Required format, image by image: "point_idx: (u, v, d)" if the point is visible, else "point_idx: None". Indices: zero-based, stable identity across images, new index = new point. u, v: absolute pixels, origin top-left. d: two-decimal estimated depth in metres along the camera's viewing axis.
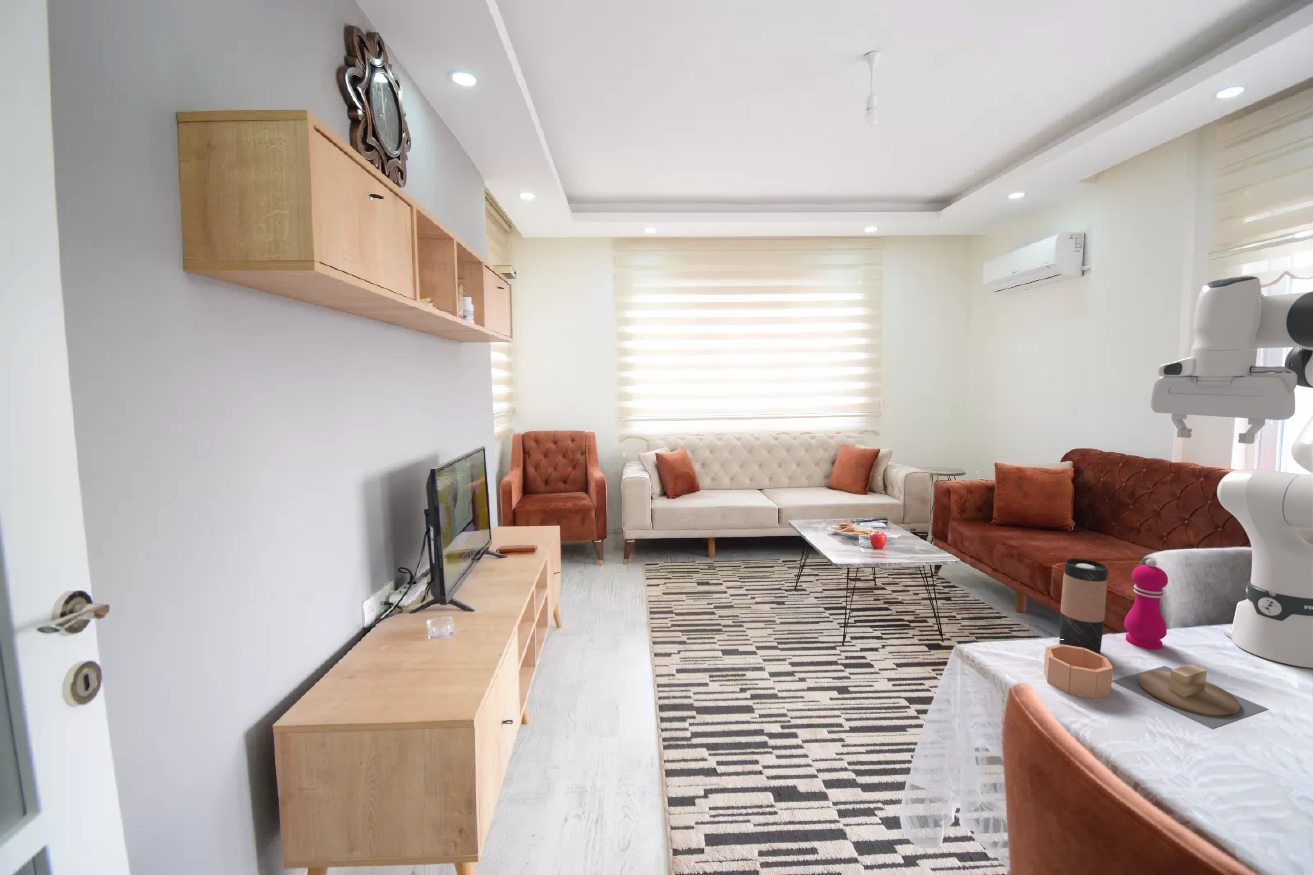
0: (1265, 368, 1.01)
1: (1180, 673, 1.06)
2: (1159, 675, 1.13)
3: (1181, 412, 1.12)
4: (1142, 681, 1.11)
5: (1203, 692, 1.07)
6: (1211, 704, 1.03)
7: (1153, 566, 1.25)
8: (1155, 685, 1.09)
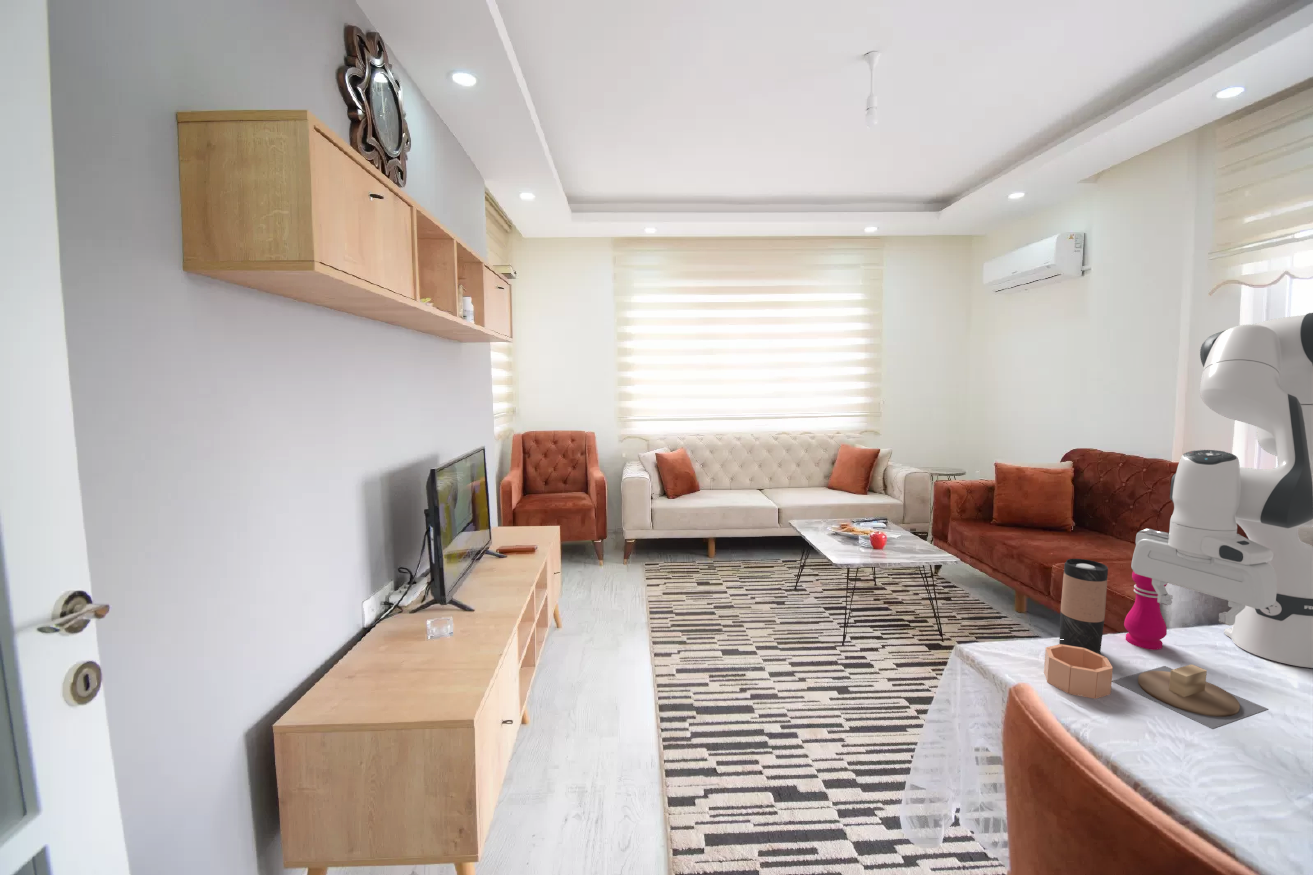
0: None
1: (1180, 673, 1.06)
2: (1159, 675, 1.13)
3: None
4: (1142, 681, 1.11)
5: (1203, 692, 1.07)
6: (1211, 704, 1.03)
7: None
8: (1155, 685, 1.09)
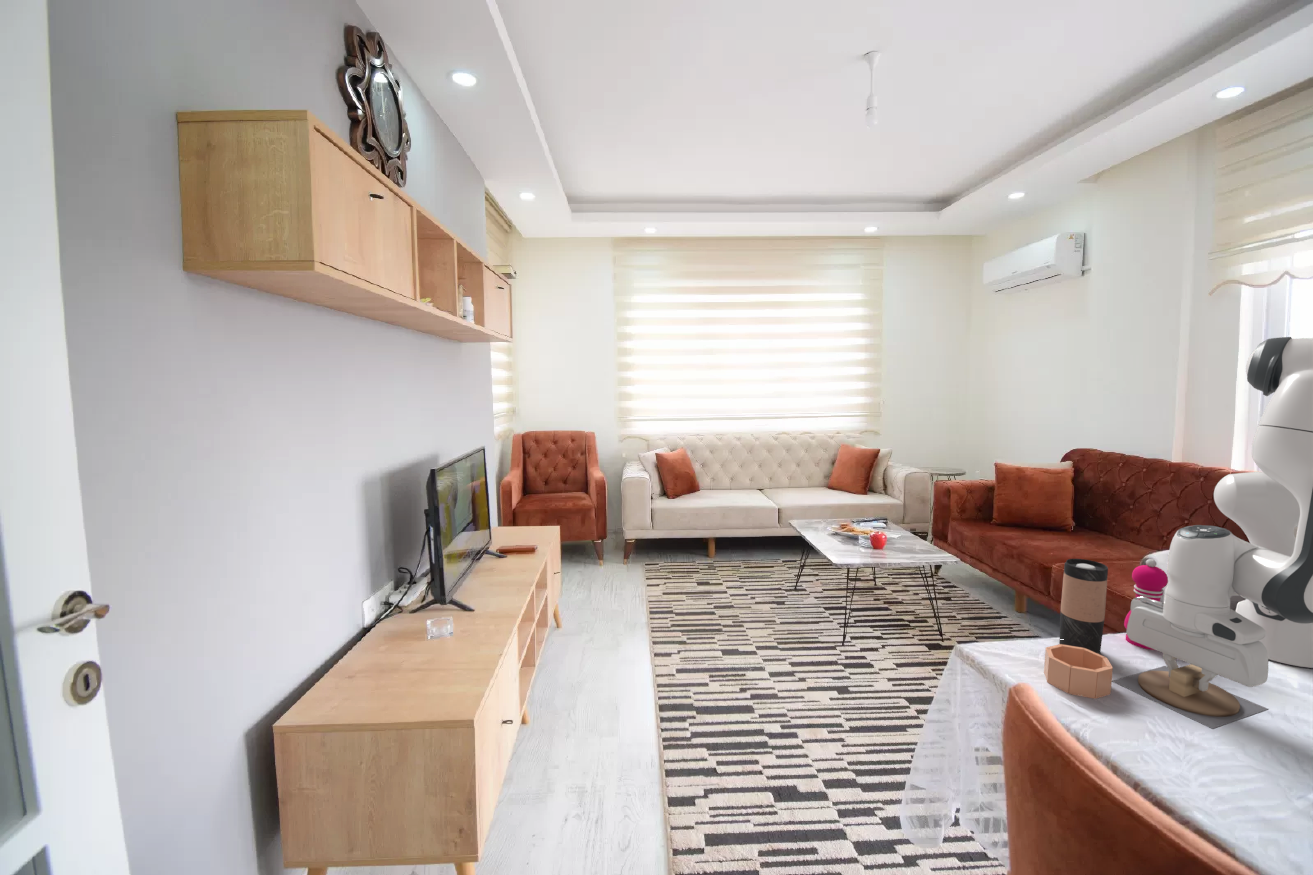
0: None
1: (1180, 673, 1.06)
2: (1159, 675, 1.13)
3: None
4: (1142, 681, 1.11)
5: (1203, 692, 1.07)
6: (1211, 704, 1.03)
7: (1153, 566, 1.25)
8: (1155, 685, 1.09)
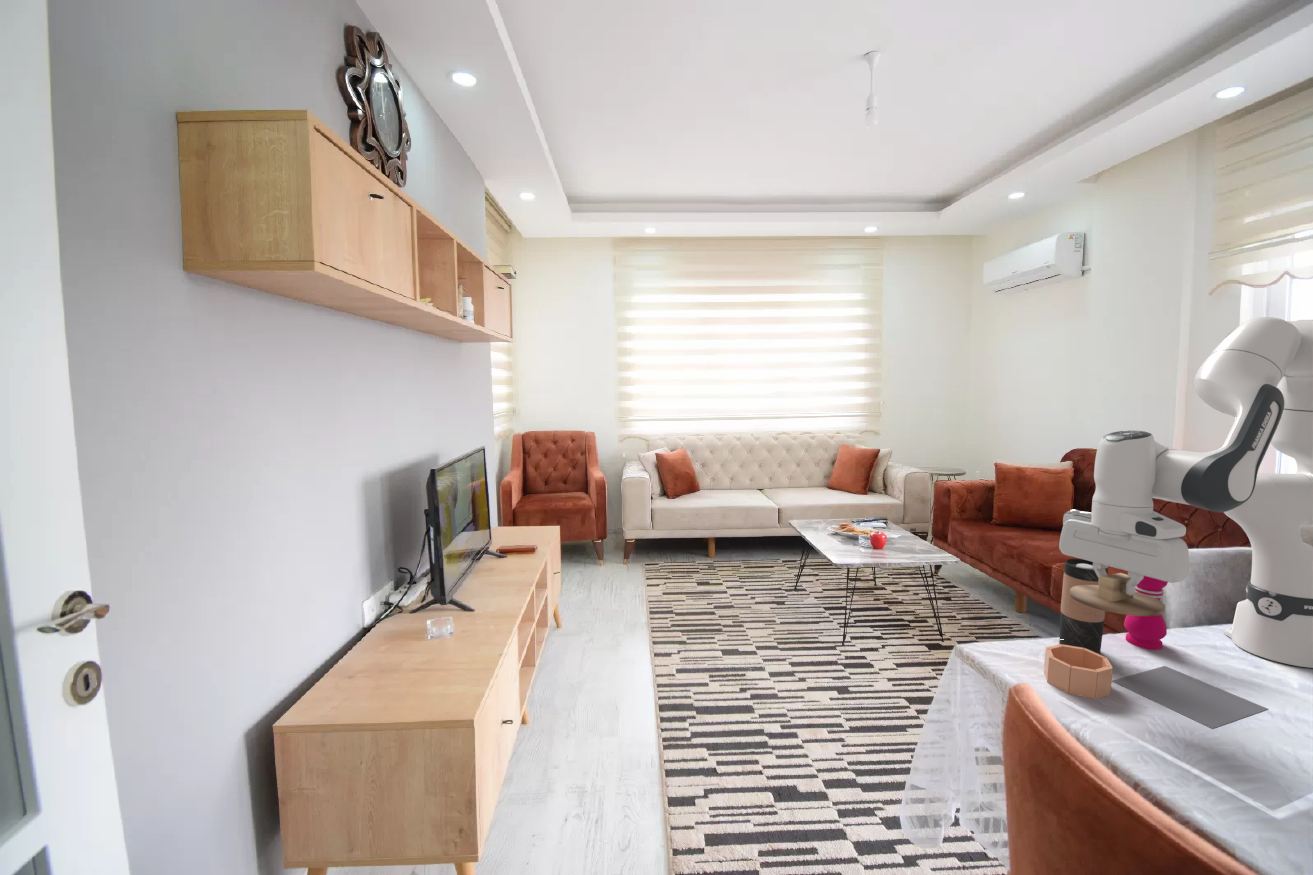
0: None
1: (1108, 578, 1.07)
2: (1091, 587, 1.13)
3: None
4: (1073, 592, 1.11)
5: (1131, 598, 1.07)
6: (1137, 606, 1.03)
7: None
8: (1085, 594, 1.10)
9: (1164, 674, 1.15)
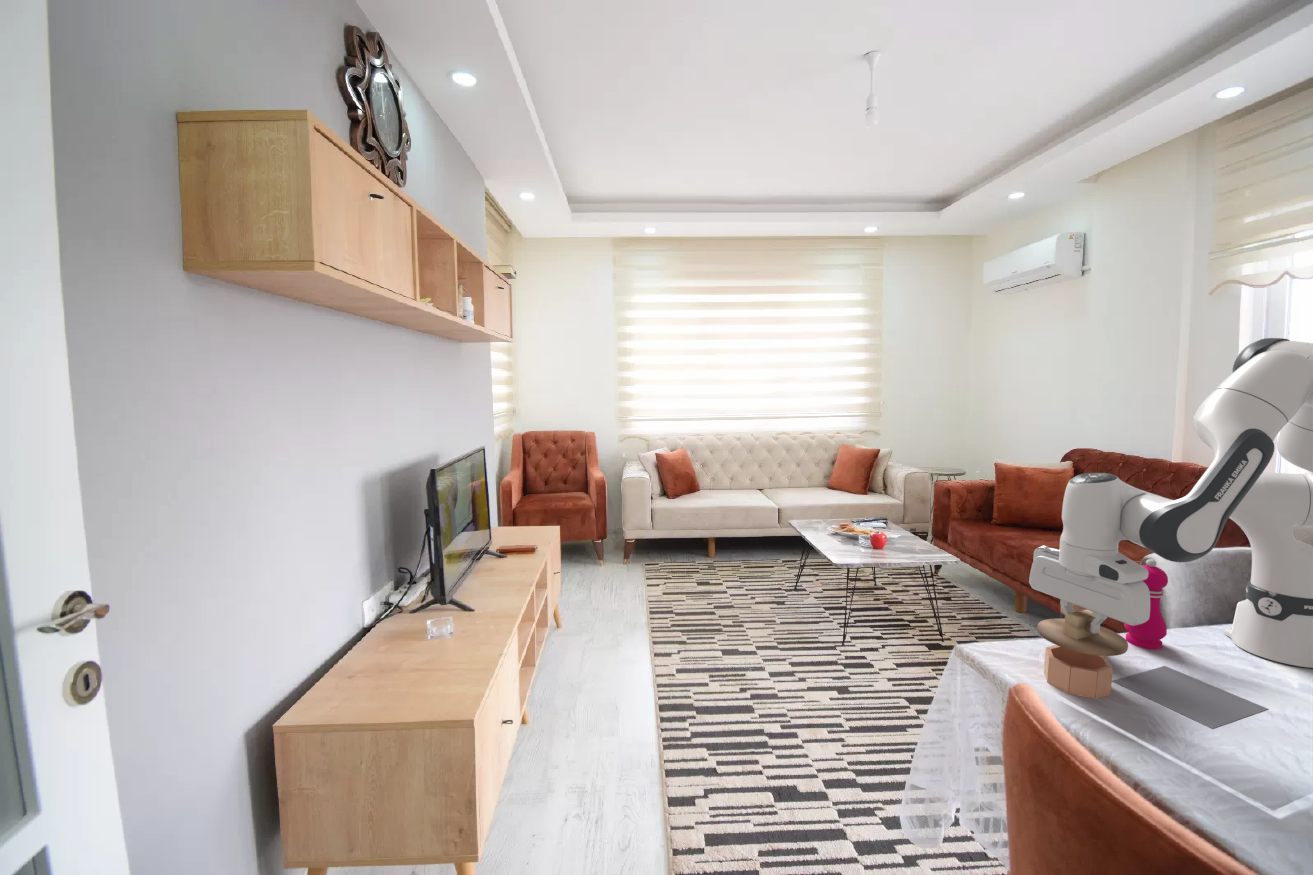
0: None
1: (1073, 616, 1.09)
2: (1059, 622, 1.16)
3: None
4: (1041, 627, 1.14)
5: (1096, 635, 1.10)
6: (1100, 645, 1.06)
7: (1153, 566, 1.25)
8: (1052, 630, 1.12)
9: (1164, 674, 1.15)
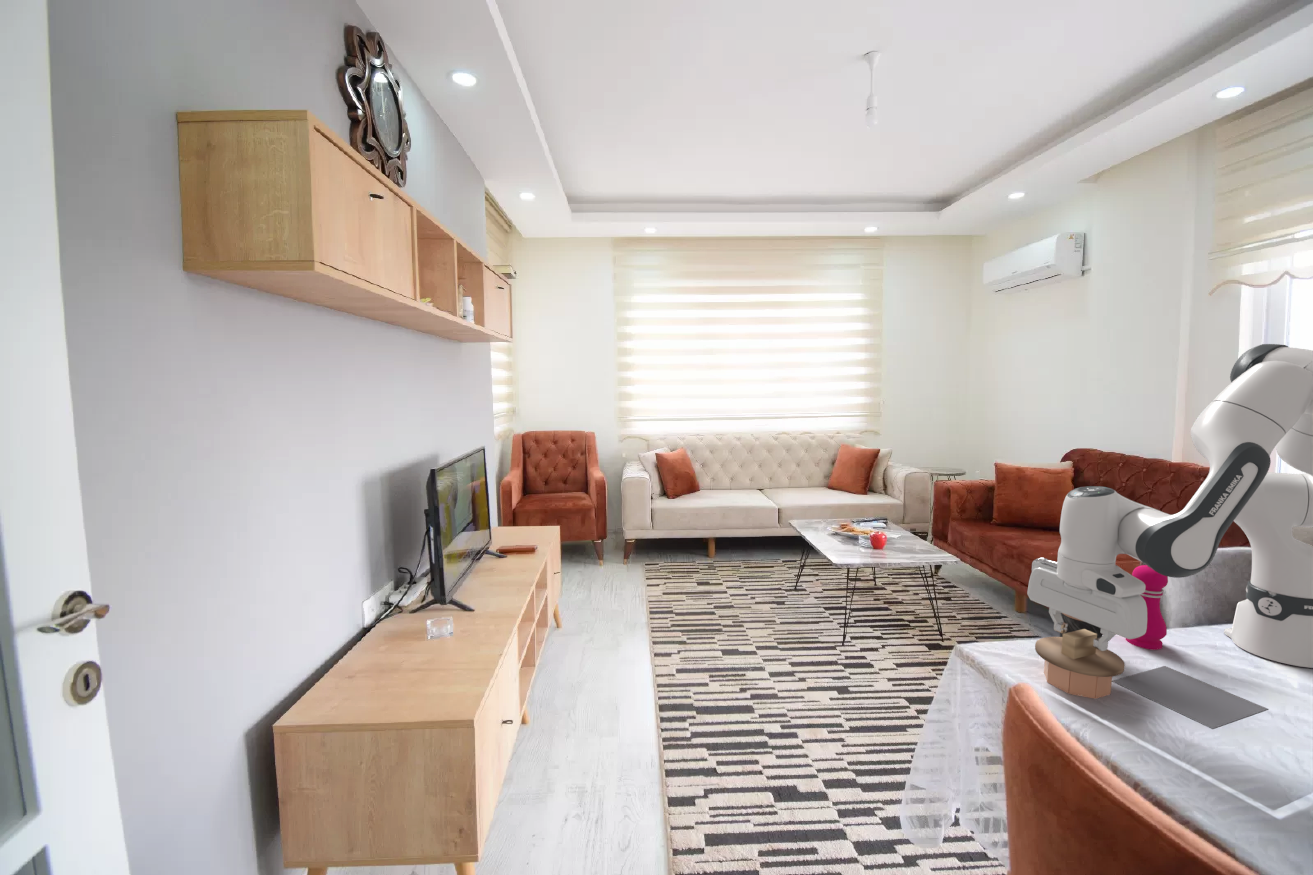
0: None
1: (1070, 636, 1.10)
2: (1056, 640, 1.17)
3: None
4: (1038, 646, 1.15)
5: (1093, 655, 1.11)
6: (1097, 665, 1.07)
7: None
8: (1049, 649, 1.13)
9: (1164, 674, 1.15)
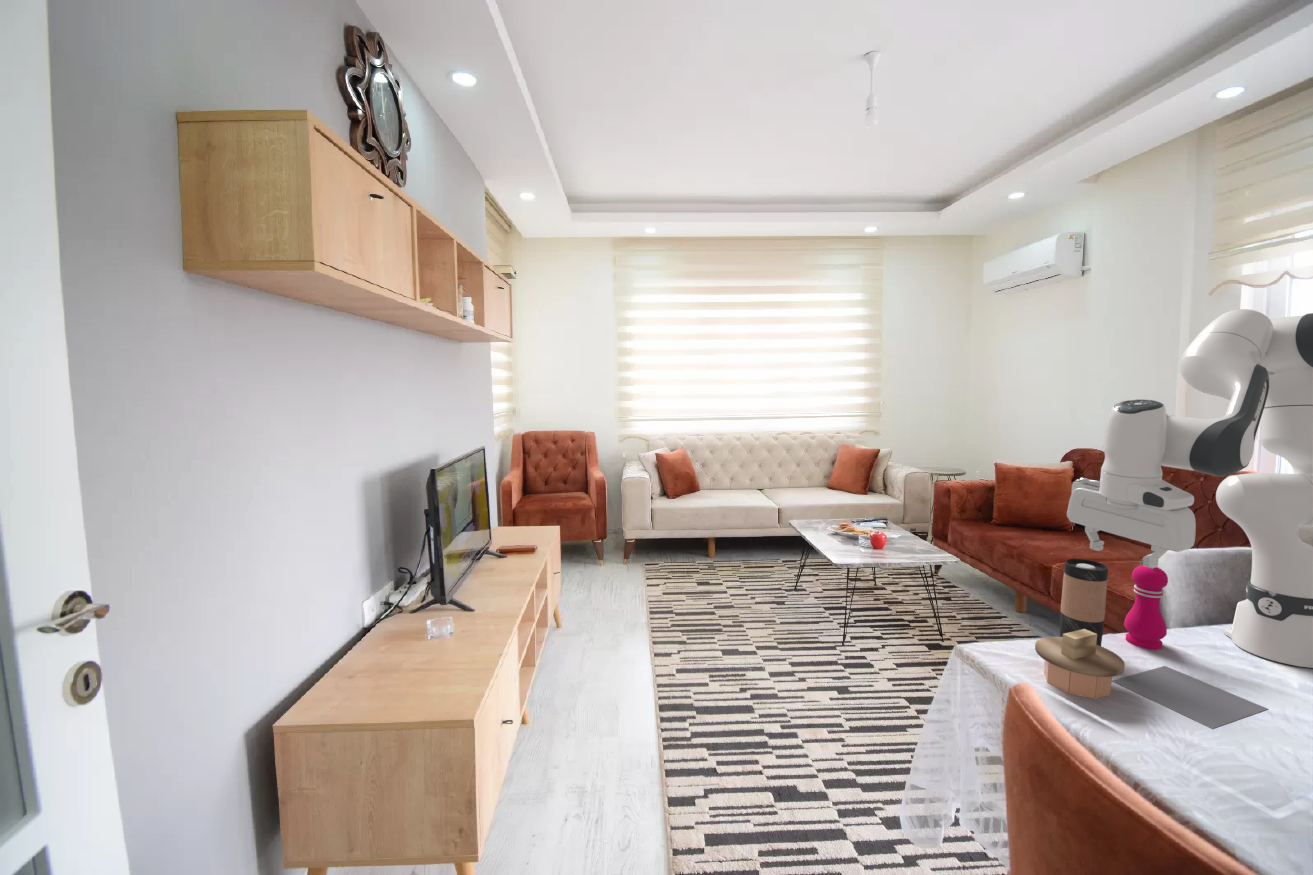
0: None
1: (1070, 636, 1.10)
2: (1056, 640, 1.17)
3: None
4: (1038, 646, 1.15)
5: (1093, 655, 1.11)
6: (1097, 665, 1.07)
7: None
8: (1049, 649, 1.13)
9: (1164, 674, 1.15)
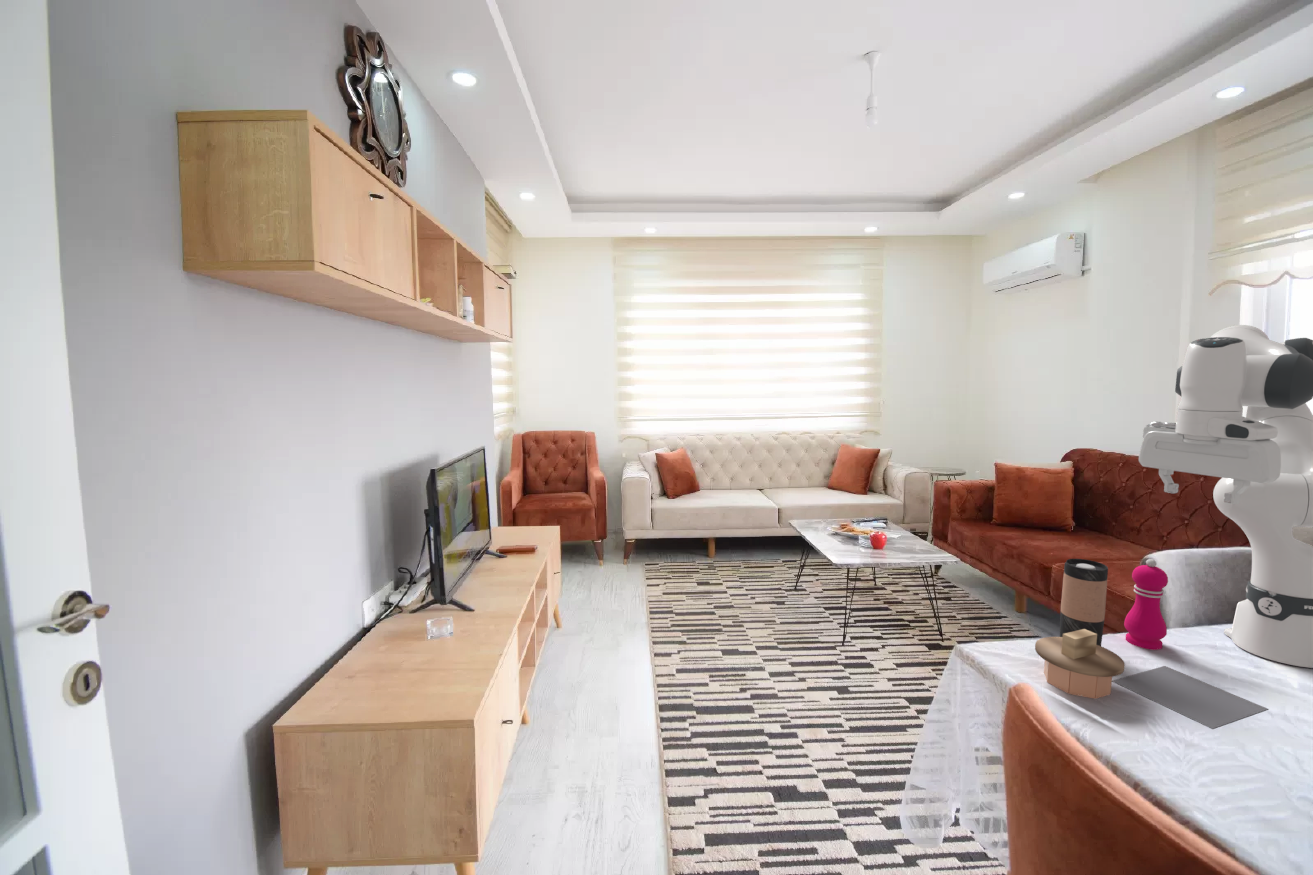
0: None
1: (1070, 636, 1.10)
2: (1056, 640, 1.17)
3: None
4: (1038, 646, 1.15)
5: (1093, 655, 1.11)
6: (1097, 665, 1.07)
7: (1153, 566, 1.25)
8: (1049, 649, 1.13)
9: (1164, 674, 1.15)
